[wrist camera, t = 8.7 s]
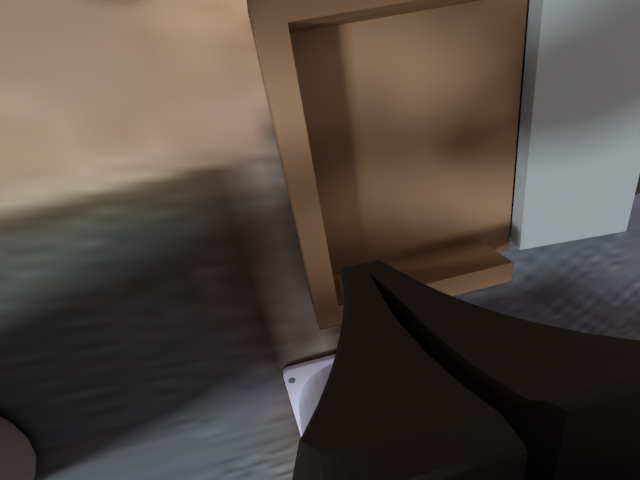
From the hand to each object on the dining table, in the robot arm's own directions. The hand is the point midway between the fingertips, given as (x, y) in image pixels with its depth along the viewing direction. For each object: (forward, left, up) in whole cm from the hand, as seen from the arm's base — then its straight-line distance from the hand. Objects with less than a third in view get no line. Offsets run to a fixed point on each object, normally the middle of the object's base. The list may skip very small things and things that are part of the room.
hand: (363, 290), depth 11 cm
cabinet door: (+2, -12, -8) cm, 14 cm away
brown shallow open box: (+2, -5, -9) cm, 11 cm away
